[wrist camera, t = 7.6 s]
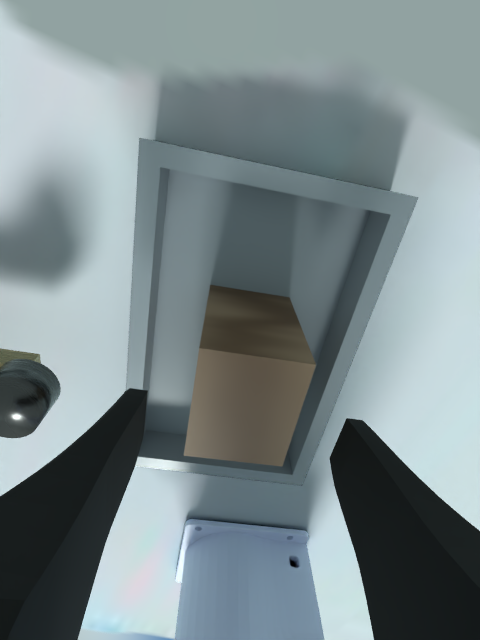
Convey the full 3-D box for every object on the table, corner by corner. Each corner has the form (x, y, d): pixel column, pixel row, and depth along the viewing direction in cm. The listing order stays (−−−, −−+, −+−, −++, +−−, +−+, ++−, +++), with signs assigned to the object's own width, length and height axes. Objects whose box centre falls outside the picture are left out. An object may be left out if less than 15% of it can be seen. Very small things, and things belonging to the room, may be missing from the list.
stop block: (289, 297, 17) (316, 364, 11) (268, 378, 19) (282, 466, 14) (210, 284, 16) (199, 348, 11) (198, 368, 19) (183, 455, 13)
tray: (390, 191, 15) (418, 197, 13) (295, 452, 22) (302, 485, 20) (154, 140, 14) (139, 137, 12) (133, 432, 21) (122, 464, 19)
